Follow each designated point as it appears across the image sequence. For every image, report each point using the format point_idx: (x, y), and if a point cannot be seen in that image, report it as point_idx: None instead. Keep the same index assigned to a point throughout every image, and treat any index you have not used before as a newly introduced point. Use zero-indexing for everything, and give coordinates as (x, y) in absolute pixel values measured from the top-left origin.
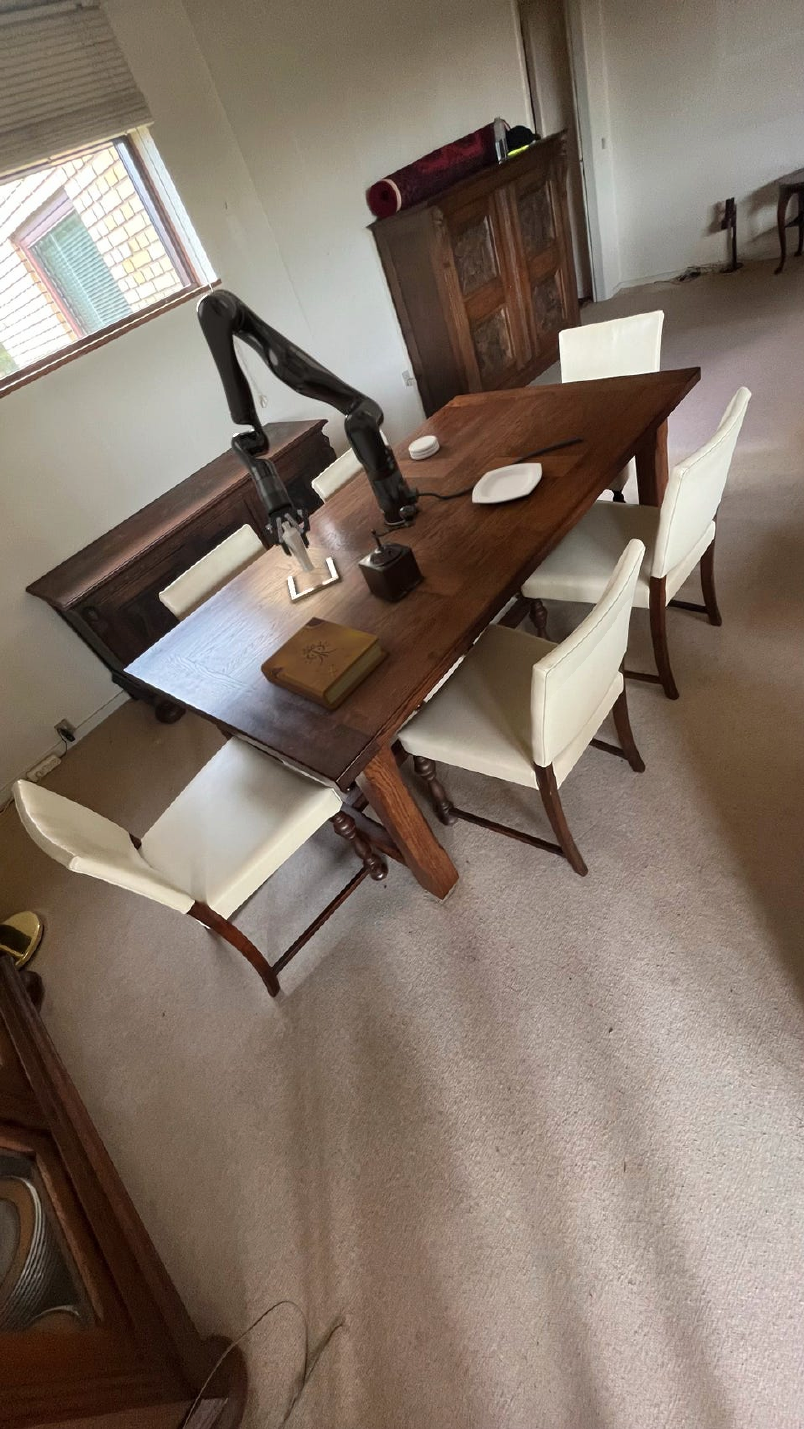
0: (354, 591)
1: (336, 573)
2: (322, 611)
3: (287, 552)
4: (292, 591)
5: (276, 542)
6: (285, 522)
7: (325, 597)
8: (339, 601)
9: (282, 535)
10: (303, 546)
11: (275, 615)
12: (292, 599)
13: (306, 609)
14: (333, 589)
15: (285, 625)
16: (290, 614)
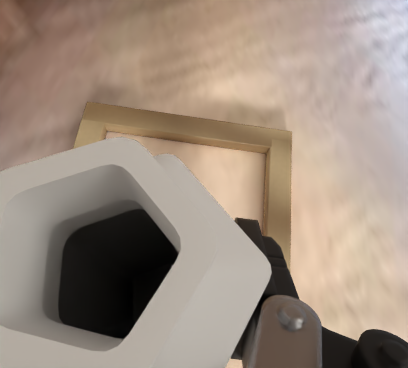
0: (84, 17)
1: (77, 138)
2: (207, 15)
3: (256, 226)
4: (281, 188)
5: (364, 332)
6: (39, 335)
7: (174, 68)
8: (144, 13)
9: (257, 365)
10: (106, 251)
11: (362, 127)
12: (289, 131)
13: (250, 64)
14: (133, 85)
15: (330, 49)
16: (307, 86)
